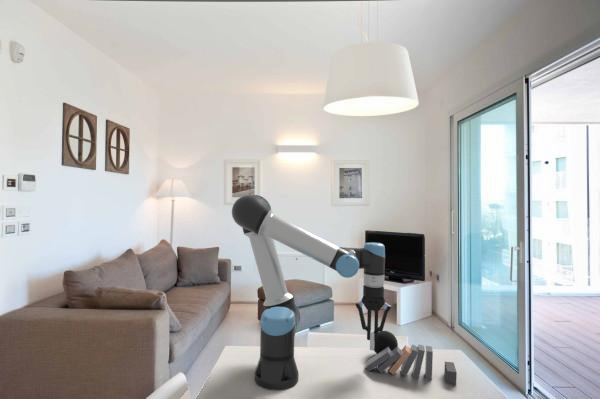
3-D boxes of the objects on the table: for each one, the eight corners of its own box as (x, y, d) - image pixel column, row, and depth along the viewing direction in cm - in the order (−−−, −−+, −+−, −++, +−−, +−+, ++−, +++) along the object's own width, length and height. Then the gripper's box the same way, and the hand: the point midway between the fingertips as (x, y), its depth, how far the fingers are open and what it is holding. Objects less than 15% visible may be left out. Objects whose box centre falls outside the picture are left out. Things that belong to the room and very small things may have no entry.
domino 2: (377, 368, 143) (397, 351, 141) (378, 363, 147) (397, 346, 146) (381, 373, 142) (401, 355, 140) (381, 367, 147) (401, 350, 145)
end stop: (446, 384, 135) (447, 371, 135) (444, 373, 143) (444, 361, 143) (456, 385, 135) (456, 372, 135) (453, 374, 142) (453, 362, 142)
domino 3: (388, 371, 142) (405, 350, 140) (389, 365, 146) (405, 345, 145) (393, 374, 141) (410, 354, 140) (393, 368, 146) (410, 348, 144)
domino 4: (400, 373, 141) (412, 349, 139) (400, 367, 145) (412, 344, 144) (405, 376, 140) (418, 352, 139) (405, 370, 145) (417, 346, 144)
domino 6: (425, 379, 138) (426, 351, 138) (425, 373, 143) (425, 345, 143) (431, 380, 138) (432, 351, 138) (430, 373, 143) (431, 346, 143)
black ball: (400, 354, 159) (401, 330, 159) (393, 364, 150) (393, 338, 150) (376, 349, 164) (377, 325, 164) (368, 358, 155) (368, 332, 155)
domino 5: (412, 376, 140) (418, 349, 139) (412, 370, 144) (418, 344, 144) (418, 378, 139) (424, 351, 138) (418, 372, 144) (424, 345, 143)
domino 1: (365, 367, 144) (387, 352, 142) (366, 361, 148) (388, 346, 146) (369, 371, 143) (391, 356, 141) (370, 365, 148) (391, 351, 146)
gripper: (354, 286, 143) (353, 350, 143) (391, 289, 140) (389, 355, 140) (357, 281, 150) (355, 343, 151) (392, 284, 147) (390, 347, 147)
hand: (372, 348), depth 145 cm, fingers closed
